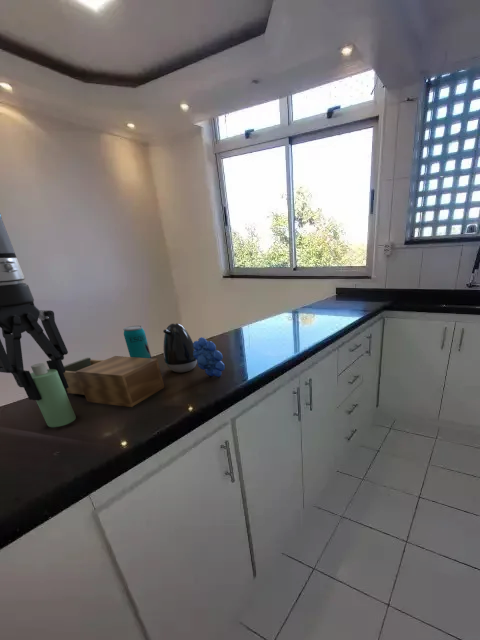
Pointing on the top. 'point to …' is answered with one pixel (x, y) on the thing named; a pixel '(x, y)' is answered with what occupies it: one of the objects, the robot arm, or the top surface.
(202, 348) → the grapes
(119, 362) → the cabinet
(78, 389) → the drawer
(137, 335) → the beverage can
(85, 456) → the top surface
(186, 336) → the pump dispenser
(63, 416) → the soap bottle
